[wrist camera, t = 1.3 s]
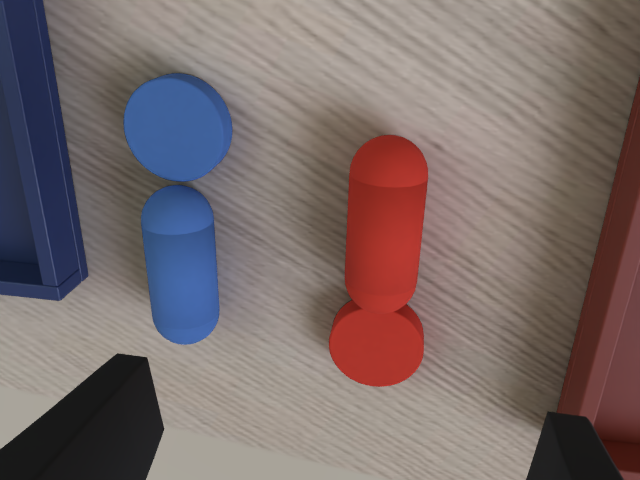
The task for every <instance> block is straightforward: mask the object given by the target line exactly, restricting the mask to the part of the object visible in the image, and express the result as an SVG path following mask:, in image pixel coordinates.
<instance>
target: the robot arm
mask: <svg viewBox="0 0 640 480" xmlns="http://www.w3.org/2000/svg"><path fill="white" fill-rule="evenodd" d="M163 431H164V426H163V422H162V418H161V414H160V409H159V405H158V401H157V397H156V392H155V388H154V384H153V380H152V376H151V371H150V367H149V363H148V359H147V357H140V356H133V355H125V354H118V353H117V354H116V355H115V356H113V357H112V358H111V359H110V360H109V361H107V362H106V363H105V364H104V365H102V366H101V367H100V368H99V369H98V370H96V371H95V372H94V373H93V374H92V375H90V376H89V377H88V378H87V379H86V380H84V381H83V382H82V383H81V384H80V385H78V386H77V387H76V388H75V389H74V390H72V391H71V392H70V393H69V394H68V395H67V396H65V397H64V398H63V399H62V400H61V401H59V402H58V403H57V404H56V405H55V406H54V407H52V408H51V409H50V410H49V411H47V412H46V413H45V414H44V415H43V416H41V417H40V418H39V419H37V420H36V421H35V422H34V423H32V424H31V425H30V426H29V427H28V428H26V429H25V430H24V431H23V432H21V433H20V434H19V435H18V436H16V437H15V438H14V439H13V440H12V441H10V442H9V443H8V444H6V445H5V446H4V447H3V448H1V449H0V480H146V478H147V475H148V472H149V470H150V467H151V465H152V462H153V459H154V456H155V454H156V451H157V448H158V445H159V442H160V440H161V437H162V434H163ZM526 480H624V479H623V477H622V475H621V474H620V472H619V470H618V469H617V467H616V465H615V464H614V462H613V460H612V458H611V457H610V455H609V453H608V451H607V450H606V448H605V446H604V444H603V443H602V441H601V439H600V437H599V436H598V434H597V432H596V430H595V428H594V427H593V425H592V423H591V422H590V421H589V419H588V418H587V417H585V416H577V415H570V414H563V413H555V412H548V413H547V416H546V419H545V422H544V425H543V428H542V432H541V435H540V438H539V441H538V444H537V447H536V450H535V454H534V457H533V460H532V463H531V466H530V469H529V473H528V476H527V479H526Z"/></svg>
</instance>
